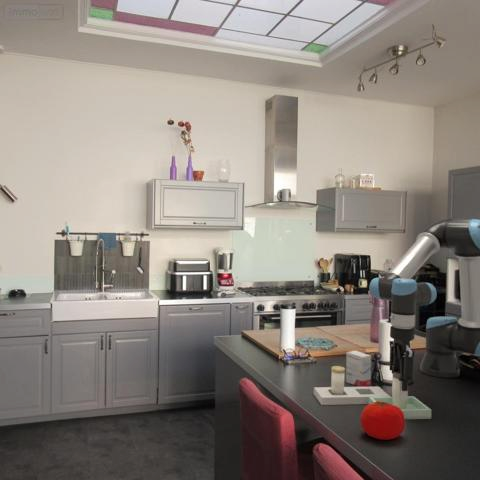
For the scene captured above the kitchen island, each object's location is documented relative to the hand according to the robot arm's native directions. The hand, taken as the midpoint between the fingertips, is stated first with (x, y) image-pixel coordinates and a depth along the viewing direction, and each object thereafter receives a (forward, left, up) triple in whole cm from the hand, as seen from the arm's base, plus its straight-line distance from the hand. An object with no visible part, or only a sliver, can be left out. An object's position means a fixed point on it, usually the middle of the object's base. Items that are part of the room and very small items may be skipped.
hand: (399, 396), depth 162 cm
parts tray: (0, 0, -5) cm, 5 cm away
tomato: (+13, +17, -5) cm, 22 cm away
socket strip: (+12, -12, -5) cm, 18 cm away
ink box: (+4, -27, -5) cm, 28 cm away
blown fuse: (0, 0, -3) cm, 3 cm away
